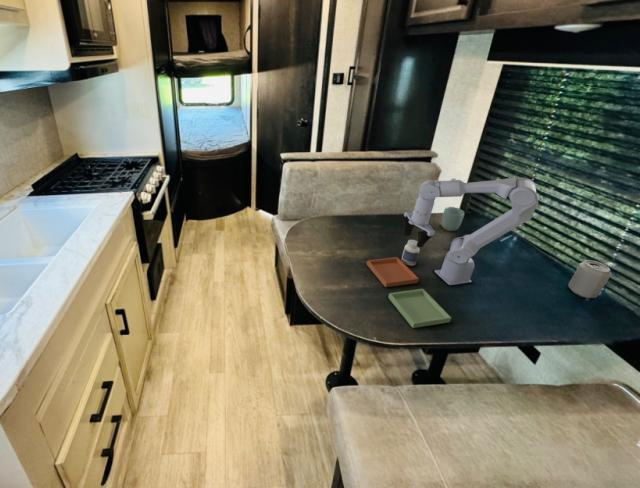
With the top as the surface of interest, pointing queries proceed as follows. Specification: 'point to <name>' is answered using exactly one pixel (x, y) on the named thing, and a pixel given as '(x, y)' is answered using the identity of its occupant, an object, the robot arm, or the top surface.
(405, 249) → the pill bottle
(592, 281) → the beige cylinder
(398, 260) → the terracotta tray
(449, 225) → the cup
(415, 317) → the sage tray
